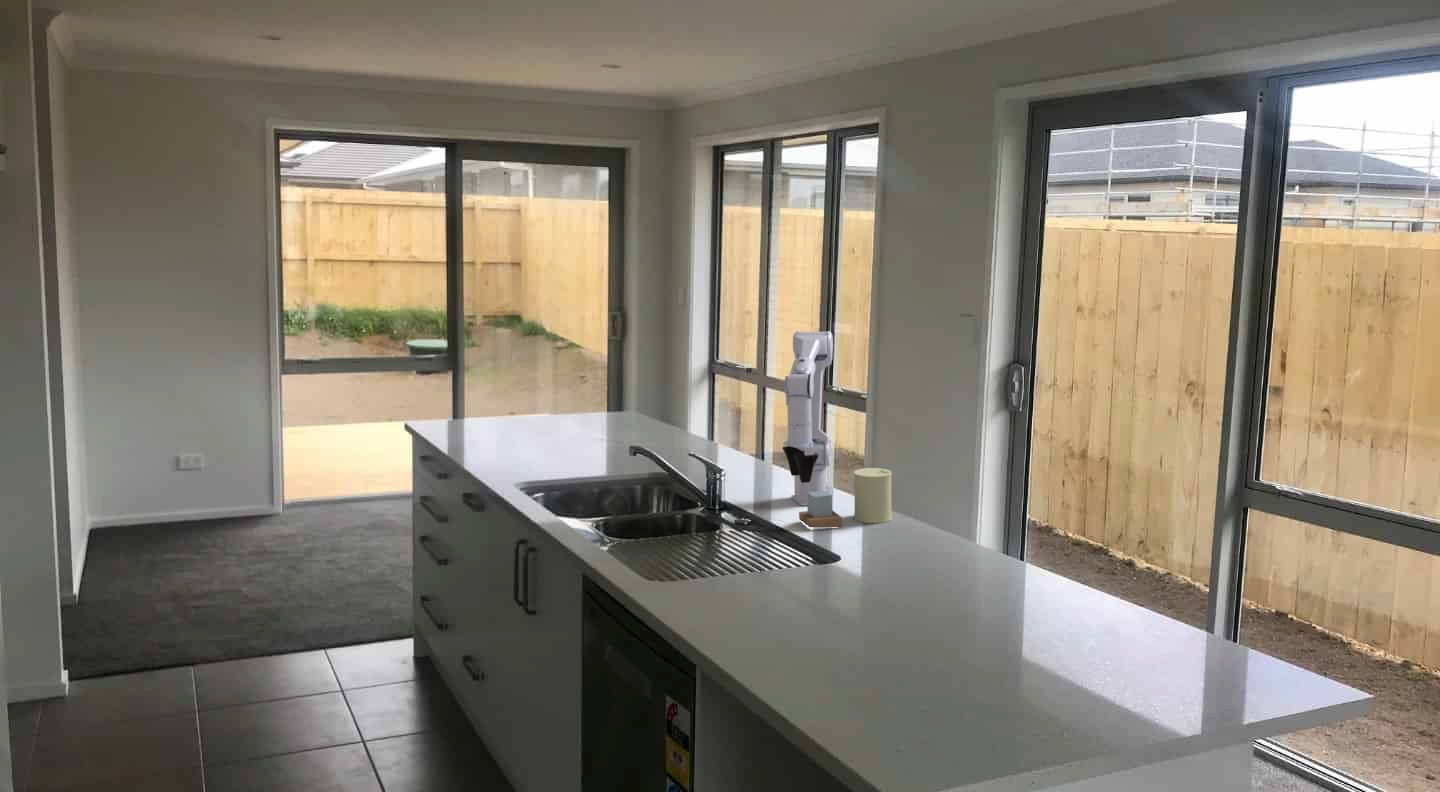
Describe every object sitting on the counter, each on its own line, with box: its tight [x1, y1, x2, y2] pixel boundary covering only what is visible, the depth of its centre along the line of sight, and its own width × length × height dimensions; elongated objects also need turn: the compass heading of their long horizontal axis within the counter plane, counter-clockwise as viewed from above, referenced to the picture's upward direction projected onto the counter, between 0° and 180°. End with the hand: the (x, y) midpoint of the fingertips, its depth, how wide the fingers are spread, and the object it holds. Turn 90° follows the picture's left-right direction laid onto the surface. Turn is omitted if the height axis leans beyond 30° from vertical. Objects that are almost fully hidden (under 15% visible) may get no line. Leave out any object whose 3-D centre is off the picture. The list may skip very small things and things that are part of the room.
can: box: [853, 467, 893, 524], centre depth 276 cm, size 9×9×12 cm
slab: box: [798, 509, 843, 528], centre depth 272 cm, size 8×8×3 cm
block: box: [807, 490, 833, 518], centre depth 272 cm, size 4×4×5 cm
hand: (800, 478), depth 275 cm, fingers open, 7 cm apart
